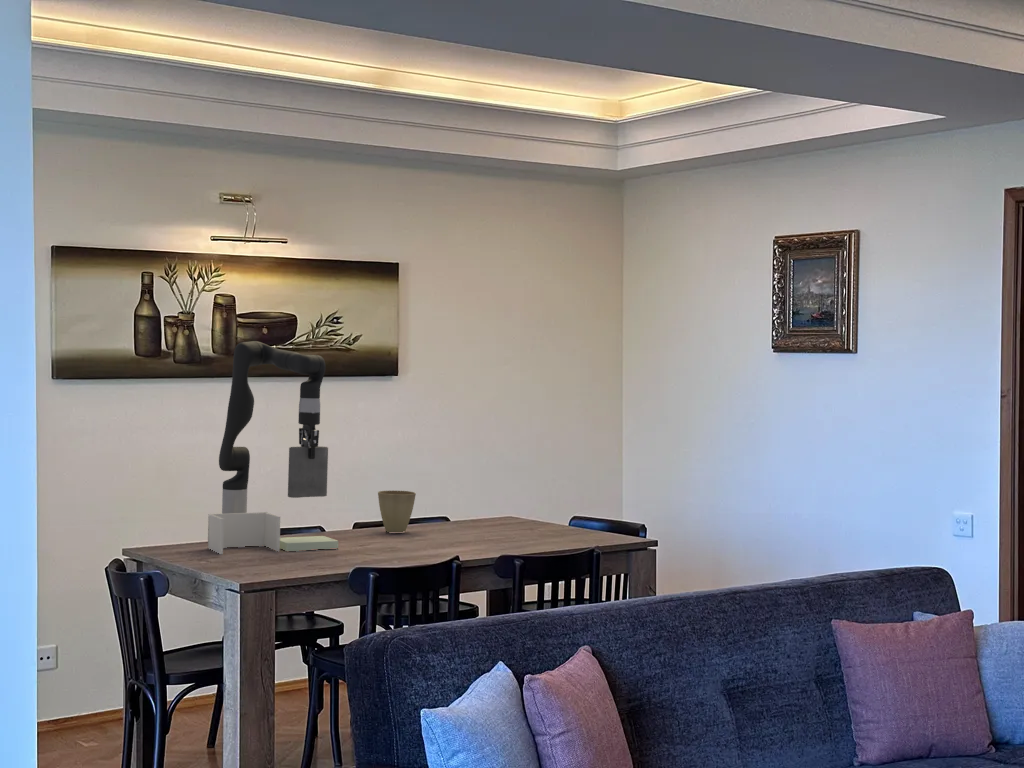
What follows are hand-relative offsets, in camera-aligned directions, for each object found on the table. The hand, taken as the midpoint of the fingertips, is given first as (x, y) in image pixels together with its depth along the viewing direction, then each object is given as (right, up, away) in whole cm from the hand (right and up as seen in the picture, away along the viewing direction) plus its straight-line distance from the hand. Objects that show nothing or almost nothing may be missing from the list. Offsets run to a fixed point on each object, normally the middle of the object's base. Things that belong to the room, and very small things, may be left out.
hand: (308, 457), depth 437 cm
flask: (-1, -14, 0) cm, 14 cm away
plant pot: (+27, -33, +49) cm, 64 cm away
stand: (-1, -32, 0) cm, 32 cm away
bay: (-21, -31, -9) cm, 39 cm away
